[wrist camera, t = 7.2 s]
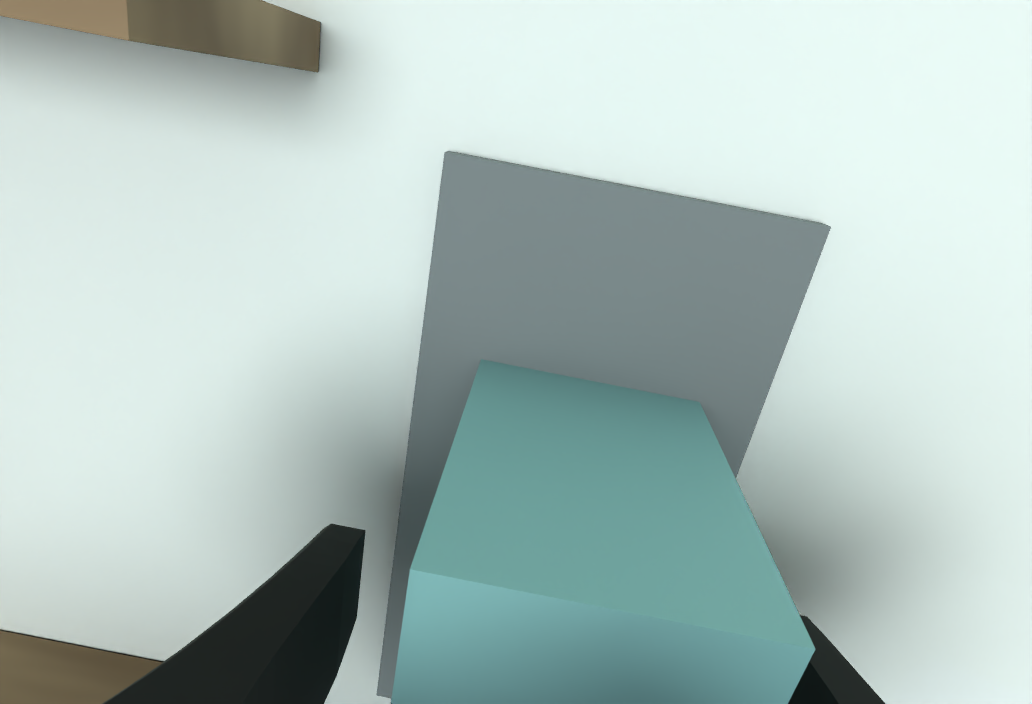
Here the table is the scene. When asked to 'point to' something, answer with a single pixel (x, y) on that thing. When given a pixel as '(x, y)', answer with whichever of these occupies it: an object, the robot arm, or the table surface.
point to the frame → (182, 25)
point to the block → (592, 558)
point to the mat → (593, 310)
